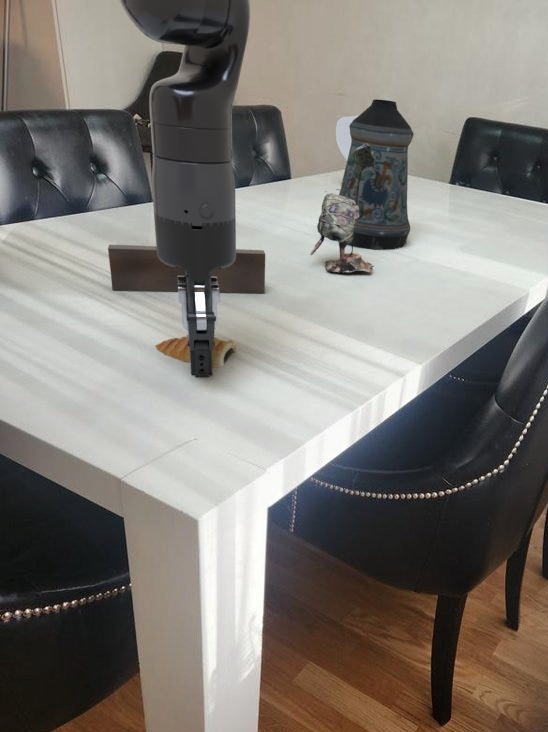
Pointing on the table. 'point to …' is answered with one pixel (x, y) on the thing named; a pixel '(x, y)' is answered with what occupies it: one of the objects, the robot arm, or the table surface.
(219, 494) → the table surface
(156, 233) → the robot arm
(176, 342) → the pastry
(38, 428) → the table surface
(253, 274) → the backstop
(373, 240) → the beer stein
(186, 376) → the table surface
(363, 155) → the bird figurine
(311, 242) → the table surface
